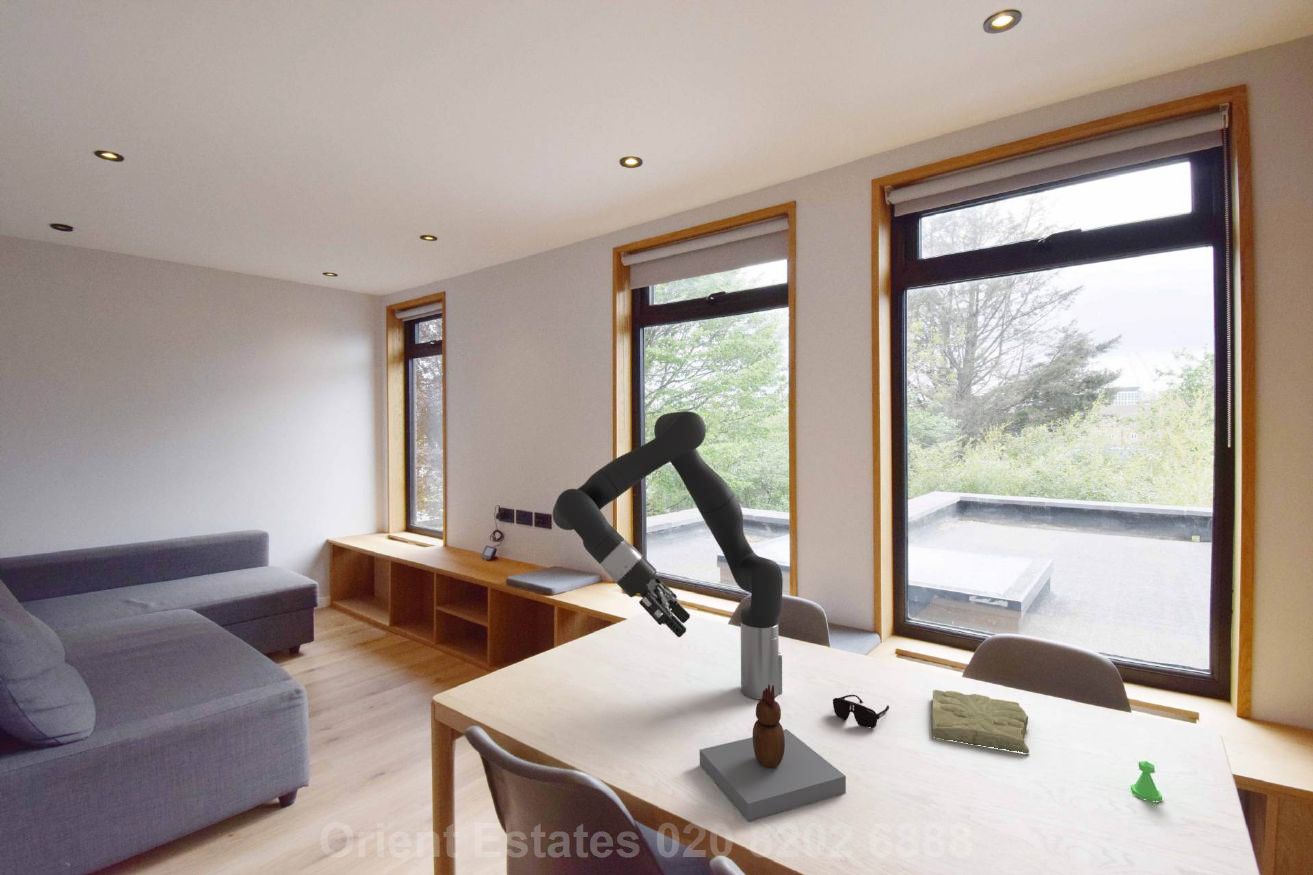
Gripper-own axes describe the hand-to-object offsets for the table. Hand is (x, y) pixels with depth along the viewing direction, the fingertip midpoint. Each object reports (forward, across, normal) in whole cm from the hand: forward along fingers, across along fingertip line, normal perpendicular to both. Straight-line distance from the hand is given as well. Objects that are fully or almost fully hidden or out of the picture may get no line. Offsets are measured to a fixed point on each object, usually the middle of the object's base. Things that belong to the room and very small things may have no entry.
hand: (685, 626), depth 117 cm
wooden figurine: (+27, -6, +5) cm, 28 cm away
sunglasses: (+46, +21, -9) cm, 51 cm away
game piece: (+76, -3, -39) cm, 85 cm away
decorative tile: (+63, +20, -26) cm, 71 cm away
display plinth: (+30, -6, +7) cm, 31 cm away
